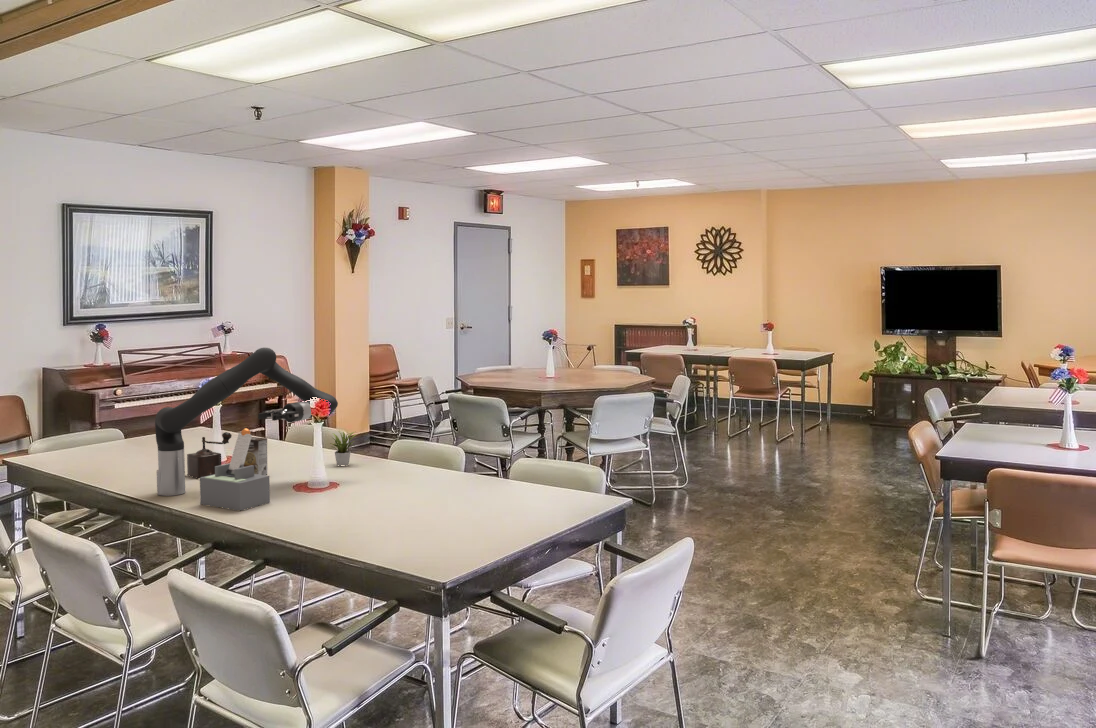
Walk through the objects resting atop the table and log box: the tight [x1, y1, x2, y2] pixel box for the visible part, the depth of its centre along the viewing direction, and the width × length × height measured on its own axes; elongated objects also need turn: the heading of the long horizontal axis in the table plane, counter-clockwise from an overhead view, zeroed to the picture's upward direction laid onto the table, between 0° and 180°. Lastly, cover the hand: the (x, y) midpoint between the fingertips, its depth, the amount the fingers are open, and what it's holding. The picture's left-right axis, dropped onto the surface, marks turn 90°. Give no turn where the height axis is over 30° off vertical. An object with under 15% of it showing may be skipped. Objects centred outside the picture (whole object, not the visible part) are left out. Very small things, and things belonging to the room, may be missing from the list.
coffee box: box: [243, 436, 269, 476], centre depth 345 cm, size 9×6×16 cm
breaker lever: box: [226, 427, 253, 476], centre depth 299 cm, size 3×6×18 cm, turn 64°
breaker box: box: [199, 462, 271, 511], centre depth 297 cm, size 14×20×14 cm
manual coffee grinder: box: [186, 431, 232, 479], centre depth 346 cm, size 16×11×18 cm
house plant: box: [329, 431, 358, 467], centre depth 367 cm, size 14×14×16 cm
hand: (266, 417), depth 309 cm, fingers open, 6 cm apart
